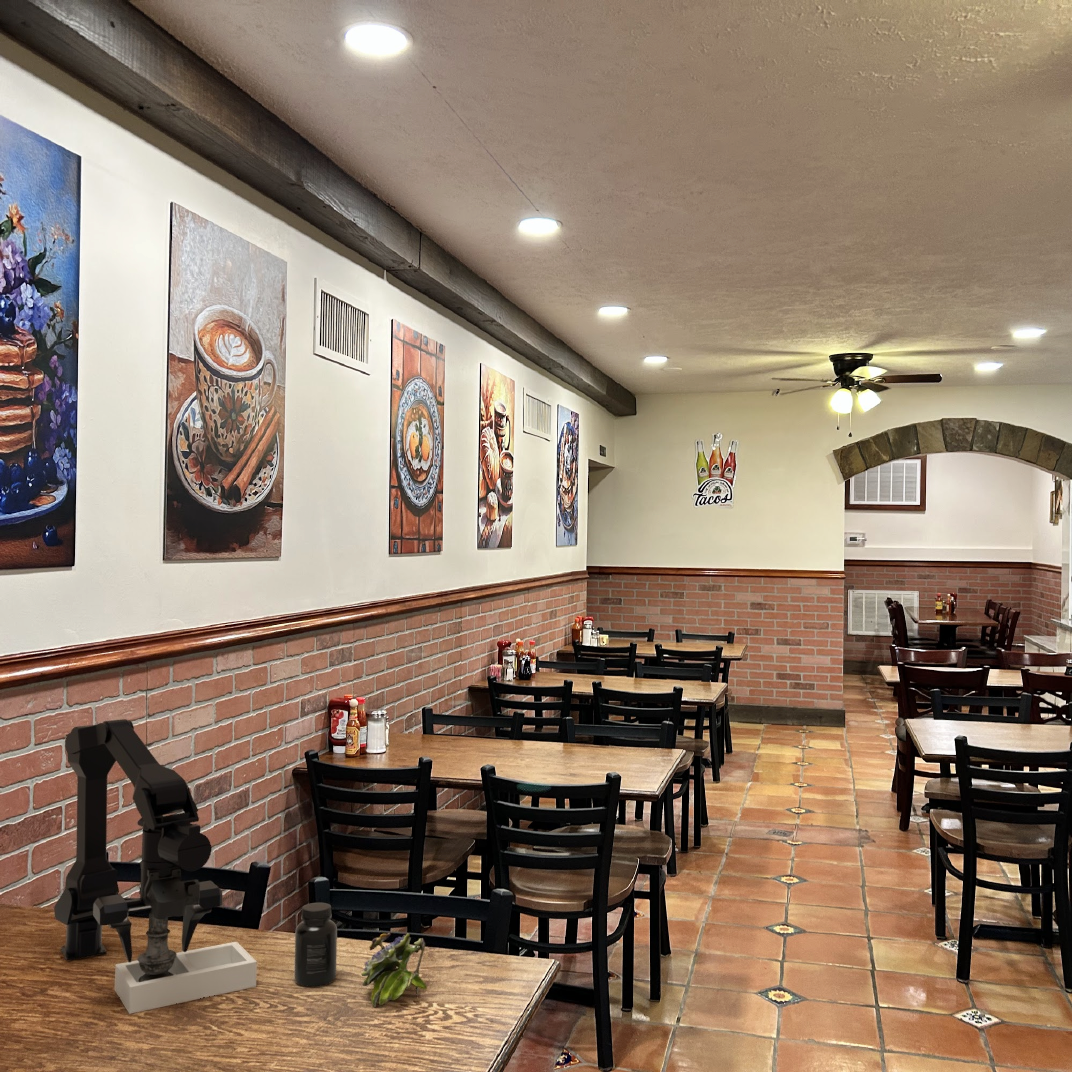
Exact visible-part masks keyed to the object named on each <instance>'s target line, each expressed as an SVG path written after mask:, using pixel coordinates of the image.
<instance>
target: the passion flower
mask: <svg viewBox="0 0 1072 1072" xmlns="http://www.w3.org/2000/svg"><path fill="white" fill-rule="evenodd" d="M390 936H391V932H388V933H382V934H380V936H378V937H374V938H373V939H372V941H371V944H369V946H368V948H369V950H370V951H372V950H375V949H376V948H377V947H378V946H379V947H380V949H379V950H377V952H376V953H374V954H372V955H371V958H369V959H367V961H365V963H364V969H362V970H361V971H362V972H361V976H362V977H365V979H364V980H363V982H362V986H363V987H367V986H369V985H370V984H371V983H372V985H373V988H372V993H371V994H370V996H371V997H370V999H371V1000H370V1001H371V1004H372V1005H373V1007H374V1008H376V1007H377V1002H378V1004H379V1005H380V1006H383V1005H384V1004H386V1003H387V1002H388V1001H390V1000H391V1001H396V1000H397V999H398V998H399V997H400V996H402V995H403V993H405V990H407V988H408V989H411V987H412V984H413V985H414V986H415V995H416V994H418V995H419V989H422V990H427V985H426V982H424V980H423V979H422V977H420V976H419V975H420V966H421V964H422V958H423V955H424V952H425V949H426V942H425V940H424V938H423V937H422V938H418V940H417V941H415V942H414V943H413V944H414V945H411V944H410V941H411V939H412V937H410V933H408V932H407V933H406V934H403V935H402V937H401V936H398V937H396V938H394V940H393V942H390V943H389V944H388V945H385V946H384V945H383V943H384V941H385V940H387V939H388V938H390ZM420 950H421V952H420ZM419 952H420V956H419V959H418V962H417V966H416V969H415V970H414V972H412V971H410V970H408V967H407V966H408V962H409V960H410V958H411V956H412V954H413V953H419ZM378 999H379V1000H378Z"/></svg>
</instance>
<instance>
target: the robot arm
mask: <svg viewBox="0 0 1072 1072" xmlns="http://www.w3.org/2000/svg"><path fill="white" fill-rule="evenodd" d="M64 740H65V741H64V747H65V752H66V753H67V754H66V756H67V762H68V763H67V764H69V765H70V767H71V769H72V770H73V772H74V773H75V775H76V779H77V782H76V784H77V788H76V789H77V790H76V791H77V793H76V848H75V849H76V850H75V851H76V852H75V853H76V856H75V862H74V863H73V865H72V866H71V868H70V869H69V871H68V873H67V874H66V876H65V882H64V890H63V892H62V893H61V895H60V897H58V900H57V901H56V903H55V905H54V907H53V910H54V919H55V920H56V921H58V922H59V923H61V924H63V925H65V926H66V930H65V931H66V932H65V933H66V935H65V938H66V939H65V945H62V946H60V950H61V953H62V954H63V957H64V958H65V960H66V961H73V960H80V959H84V958H85V959H86V958H89V957H95V956H100V955H106V954H107V949H106V946H104V944H103V943H102V936H103V935H102V934H103V926H108V927H109V928H110V929H114V930H115V931H116V932H117V933H118V937H119V939H120V943H121V945H122V948H123V953H124V955H125V958H126V961H127V962H129V963H130V962H131V961H133V960H132V959H133V948H132V947H133V945H132V935H131V934H132V933H131V932H132V931H131V928H132V921H131V920H130V919H129V913H130V914H131V913H136V912H143V911H148V910H149V911H150V910H151V911H153V916H154V918H156V919H159V920H162V919H165V918H167V917H168V918H171V917H178V918H179V917H182V916H183V917H182V918H183V919H182V933H181V949H182V952H186V951H188V949H189V946H190V944H191V941H192V939H193V936H194V934H195V931H196V929H197V926H198V925H199V922H200V920H202V918H203V917H204V916H205V915H206V914H209V913H211V912H212V908H218V907H221V906H223V892H222V889H221V888H220V887H219V886H218V885H216V884H215V883H214V882H213V881H212V880H206V881H199V879H191V880H183V878H182V870H183V871H187V872H196V871H199V870H201V868H203V867H204V866H205V865H206V864H207V863H208V861H209V860H210V858H211V854H212V848H213V847H212V845H211V841H210V839H209V837H207V836H206V834H203V833H201V825H200V824H197V823H198V822H199V819H200V817H199V814H198V812H199V809H198V807H197V805H196V802H195V800H194V798H193V796H192V792H191V789H190V787H189V785H188V783H187V782H186V780H185V779H184V778H183V777H182V776H181V775H180V774H179V773H178V772H177V771H176V770H174V769H172V768H168V767H166V766H163V765H161V764H160V763H159V761H157V759H156V757H155V756H154V755H153V754H152V752H151V751H150V749H148V747H147V746H146V744H145V743H144V742H143V740H142V739H141V738H140V736H139V735H138V734H137V732H136V731H135V727H134V723H133V721H131V720H130V719H129V720H128V719H126V718H120V719H112V720H111V719H110V720H104V721H102V722H99V723H97V724H92V725H91V724H89V725H81V726H80V725H79V726H73V728H71V731H70V732H69V733H68V734H67V735H66V737H65V739H64ZM116 763H117V764H118V765H119V767H120V769H122V771H123V772H124V774H125V775H126V776H127V778H128V779H129V781H130V782H131V784H132V786H133V787H134V789H133V794H132V800H133V803H134V804H135V807H136V809H137V811H138V813H139V816H140V817H141V818H139V820H138V821H137V822H136V823H137V826H139V827H142V834H141V835H142V843H141V860H140V869H141V870H140V887H139V889H138V890H139V892H138V893H139V898H134V899H126V900H125V898H124V897H123V896H122V894H119V893H120V889H119V884H118V880H119V878H118V877H119V872H118V870H117V868H114V867H113V866H112V864H111V863H110V861H109V860H108V858H107V845H108V844H107V840H108V839H107V837H108V835H107V833H108V832H107V831H108V829H107V828H108V826H107V825H108V775H109V774H110V772H111V770H112V769H113V767H114V765H115V764H116ZM182 811H183V812H182ZM180 812H181V813H180ZM181 869H182V870H181Z"/></svg>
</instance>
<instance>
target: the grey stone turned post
mask: <svg viewBox="0 0 1072 1072" xmlns="http://www.w3.org/2000/svg"><path fill="white" fill-rule="evenodd" d="M168 923H169V917H167V918H165V919H162V920H159V919H156V918H154V916H153V911H152V910H150V912H149V915H148V930H147V931H146V932H145V935H146V936H147V945H146V950H145V952H142V953H140V954H139V955H138V956H137V959H136V960H138V961H139V965H140V968H141V970H142V971H143V972H144V973H145V974H144V975H143V976H141V977H140V978H139V980H138V981H139V982H143V981H148V980H153V979H158V978H163V977H168V976H173V974H172V973H170V972H168V970H169V969H170V968H171V967H172V965H173V963H174V958H175V957H176V955H177V954H176V953H177V952H176V951H175V950H171V949H169V944H168V940H169V939H168V938H169V934H170V932H171V930H170V929H169V928H168V926H169V924H168Z"/></svg>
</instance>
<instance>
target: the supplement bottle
mask: <svg viewBox="0 0 1072 1072" xmlns="http://www.w3.org/2000/svg"><path fill="white" fill-rule="evenodd" d="M300 918H301V922H300V923H298V925H297V926H296V928H295V933H294V937H295V938H294V970H293V971H294V972H293V973H294V980H295V982H296V984H297V985H300V986H301V987H308V988H316V987H323V986H326V985H329V984H331V983H332V982H334V980H335V979H336V977H337V955H338V953H337V951H338V950H337V949H338V948H337V947H338V943H337V942H338V927H337V924H336V923H335V922H334V921H333V920H331V919H332V906H331V904H330V903H326V902H312V903H310V902H309V903H307V904H305V905H303V906H302V907H301V916H300Z"/></svg>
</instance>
